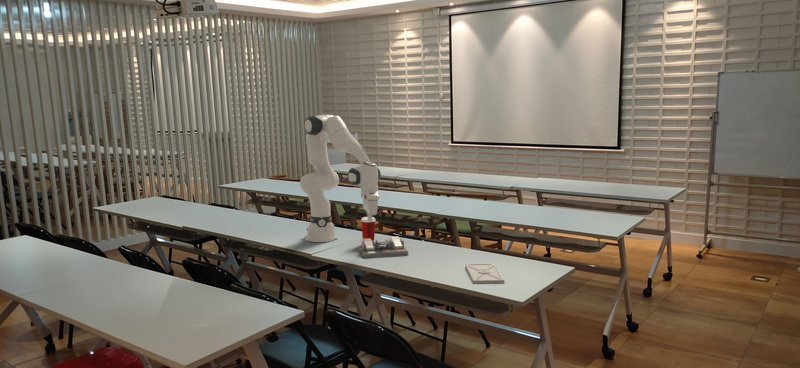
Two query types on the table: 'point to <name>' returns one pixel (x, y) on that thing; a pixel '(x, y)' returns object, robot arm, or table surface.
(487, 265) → the envelope
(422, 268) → the table surface
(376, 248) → the switch panel
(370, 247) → the rocker
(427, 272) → the table surface
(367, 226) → the coffee cup
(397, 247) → the rocker
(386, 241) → the rocker
